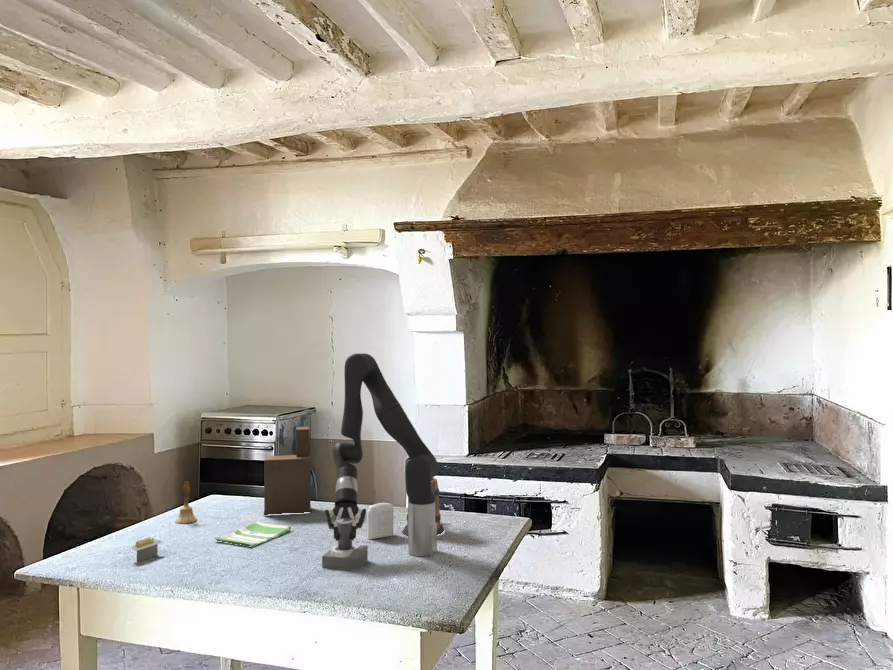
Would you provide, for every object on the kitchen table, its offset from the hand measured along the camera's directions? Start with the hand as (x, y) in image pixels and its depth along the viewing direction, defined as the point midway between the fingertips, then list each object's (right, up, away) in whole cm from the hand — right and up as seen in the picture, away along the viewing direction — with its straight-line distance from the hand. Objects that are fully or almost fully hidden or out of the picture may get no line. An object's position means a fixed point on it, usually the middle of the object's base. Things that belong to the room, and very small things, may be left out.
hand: (344, 539), depth 209 cm
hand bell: (-73, -10, +54) cm, 91 cm away
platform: (-68, -10, +9) cm, 69 cm away
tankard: (+25, -9, +41) cm, 49 cm away
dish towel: (-39, -10, +33) cm, 52 cm away
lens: (0, -4, +2) cm, 4 cm away
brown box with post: (-34, -10, +69) cm, 77 cm away
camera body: (0, -9, +2) cm, 9 cm away
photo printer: (+8, -9, +32) cm, 34 cm away
